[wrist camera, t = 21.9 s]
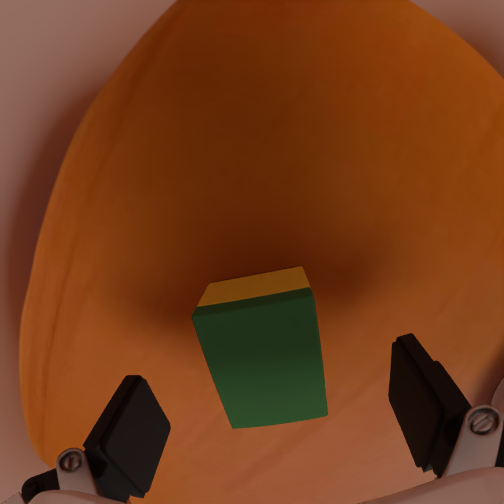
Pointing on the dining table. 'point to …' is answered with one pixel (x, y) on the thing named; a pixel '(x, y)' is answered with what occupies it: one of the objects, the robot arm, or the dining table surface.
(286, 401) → the sponge
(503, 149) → the dining table surface
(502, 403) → the bowl
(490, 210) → the dining table surface
